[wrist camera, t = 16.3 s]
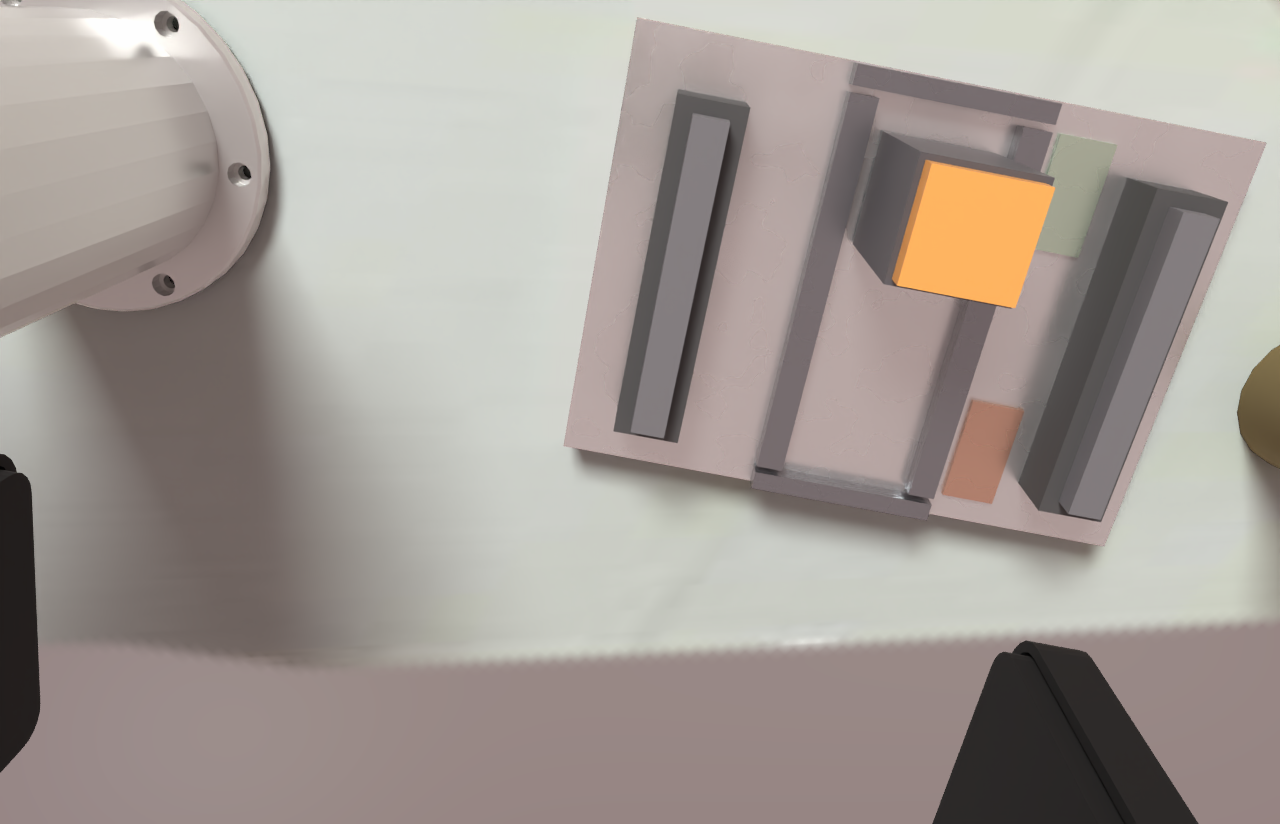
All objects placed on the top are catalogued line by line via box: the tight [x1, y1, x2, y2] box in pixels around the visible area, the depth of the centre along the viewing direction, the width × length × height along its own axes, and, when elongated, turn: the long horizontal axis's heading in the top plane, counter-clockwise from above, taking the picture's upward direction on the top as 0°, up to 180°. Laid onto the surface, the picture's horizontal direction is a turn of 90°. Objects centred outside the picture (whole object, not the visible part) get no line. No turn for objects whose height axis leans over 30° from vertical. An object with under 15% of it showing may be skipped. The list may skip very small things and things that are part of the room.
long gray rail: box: [613, 89, 1228, 522], centre depth 36 cm, size 18×12×3 cm, turn 80°
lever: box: [853, 131, 1055, 309], centre depth 32 cm, size 4×4×7 cm
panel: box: [564, 17, 1266, 546], centre depth 38 cm, size 22×16×3 cm
